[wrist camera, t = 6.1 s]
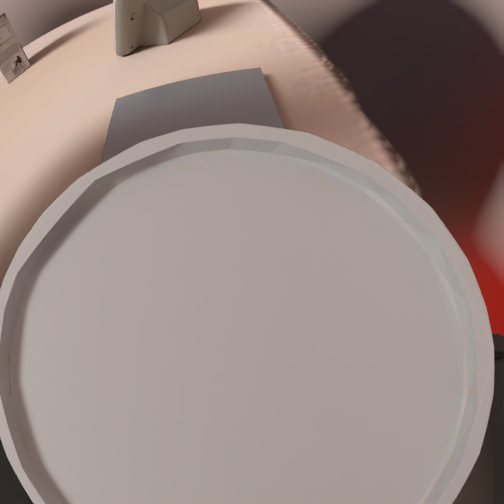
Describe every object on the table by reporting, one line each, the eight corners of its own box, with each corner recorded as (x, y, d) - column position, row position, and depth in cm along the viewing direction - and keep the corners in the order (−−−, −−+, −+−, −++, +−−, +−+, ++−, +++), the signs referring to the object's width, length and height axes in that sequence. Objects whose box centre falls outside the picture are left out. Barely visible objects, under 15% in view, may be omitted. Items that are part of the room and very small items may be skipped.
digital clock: (180, 13, 35) (170, -37, 25) (222, 16, 32) (215, -42, 23) (104, 58, 30) (81, 0, 20) (142, 62, 27) (119, -9, 18)
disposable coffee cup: (299, 263, 16) (342, 73, 5) (367, 414, 13) (542, 460, 2) (143, 322, 16) (-25, 223, 4) (202, 476, 12) (92, 610, 1)
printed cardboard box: (5, 78, 37) (-21, 32, 22) (26, 60, 38) (2, 13, 24) (8, 84, 34) (-22, 32, 19) (31, 64, 36) (5, 11, 21)
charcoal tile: (99, 228, 18) (93, 221, 17) (119, 106, 24) (116, 99, 23) (302, 188, 18) (303, 178, 18) (260, 76, 24) (260, 67, 23)
